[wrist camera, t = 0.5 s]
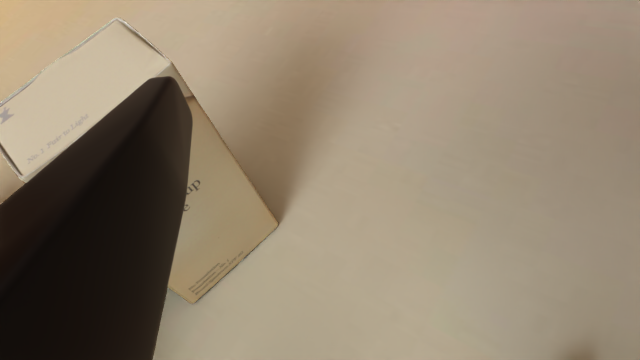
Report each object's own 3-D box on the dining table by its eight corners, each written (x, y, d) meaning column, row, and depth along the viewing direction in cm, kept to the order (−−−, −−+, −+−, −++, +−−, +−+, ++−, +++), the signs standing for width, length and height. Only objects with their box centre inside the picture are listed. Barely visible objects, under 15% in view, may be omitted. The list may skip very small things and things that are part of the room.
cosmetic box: (193, 307, 25) (13, 190, 15) (150, 253, 27) (-31, 119, 17) (284, 222, 26) (175, 61, 16) (236, 177, 29) (114, 11, 18)
